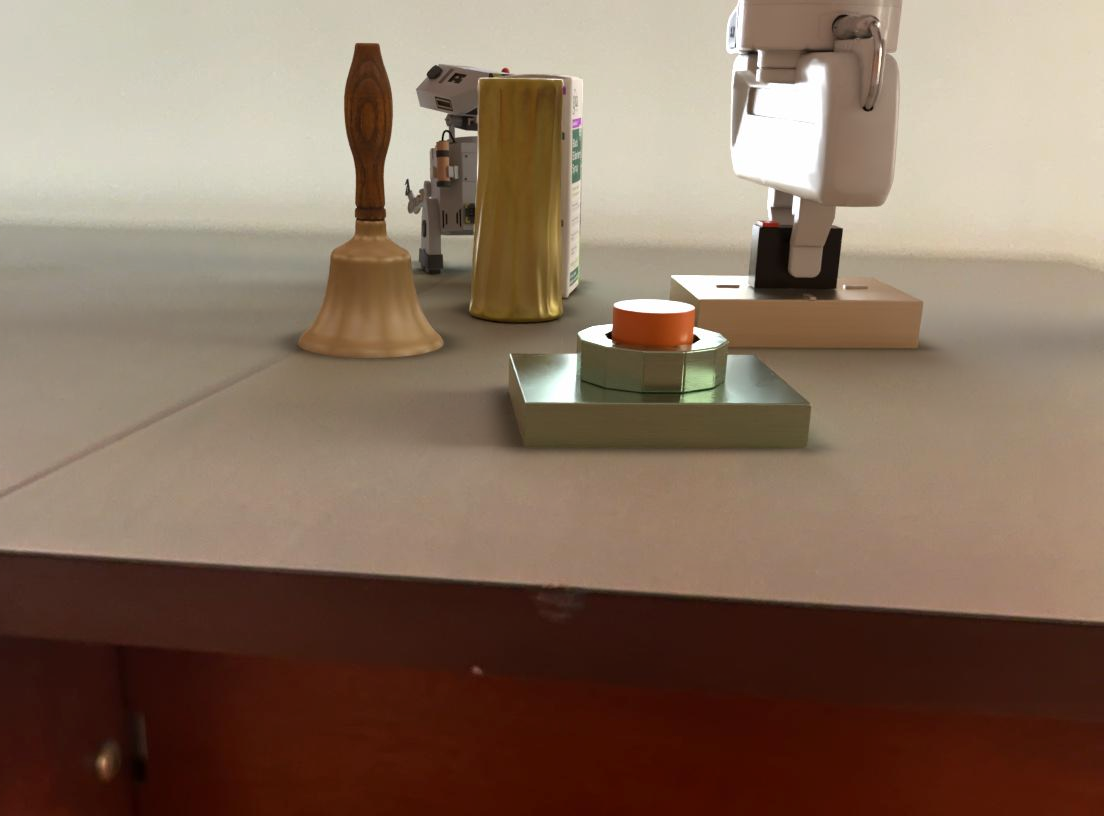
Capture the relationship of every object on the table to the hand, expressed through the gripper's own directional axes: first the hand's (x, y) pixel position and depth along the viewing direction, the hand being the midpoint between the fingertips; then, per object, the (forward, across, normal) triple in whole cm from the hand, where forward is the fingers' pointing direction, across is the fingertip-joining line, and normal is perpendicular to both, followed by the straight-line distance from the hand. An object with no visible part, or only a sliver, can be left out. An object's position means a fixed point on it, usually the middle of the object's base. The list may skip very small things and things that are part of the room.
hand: (793, 272), depth 79 cm
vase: (+4, +7, +16) cm, 18 cm away
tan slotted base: (+4, 0, 0) cm, 4 cm away
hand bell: (+4, -3, +25) cm, 26 cm away
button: (0, -21, +12) cm, 24 cm away
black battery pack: (+1, 0, 0) cm, 1 cm away
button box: (+4, -21, +12) cm, 24 cm away
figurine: (+4, +29, +17) cm, 34 cm away
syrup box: (+4, +17, +14) cm, 22 cm away
